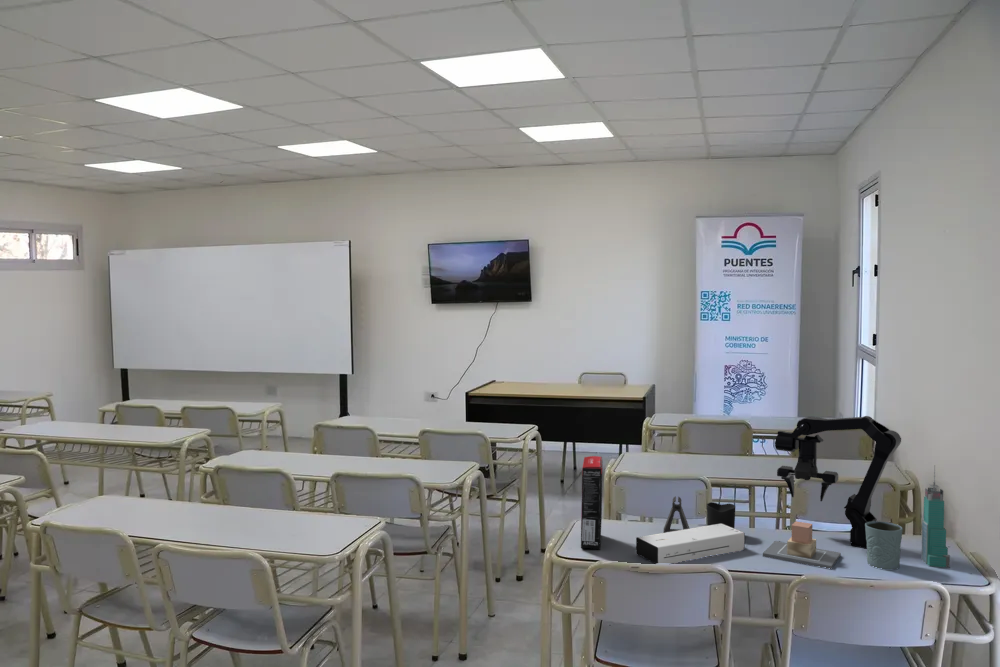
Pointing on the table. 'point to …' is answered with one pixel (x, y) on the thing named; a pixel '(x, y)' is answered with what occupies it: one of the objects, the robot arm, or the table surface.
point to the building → (934, 529)
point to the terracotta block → (801, 532)
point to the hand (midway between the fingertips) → (807, 499)
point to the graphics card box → (591, 502)
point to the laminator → (690, 543)
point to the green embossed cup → (883, 544)
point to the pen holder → (721, 514)
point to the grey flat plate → (818, 559)
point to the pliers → (669, 521)
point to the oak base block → (801, 548)
